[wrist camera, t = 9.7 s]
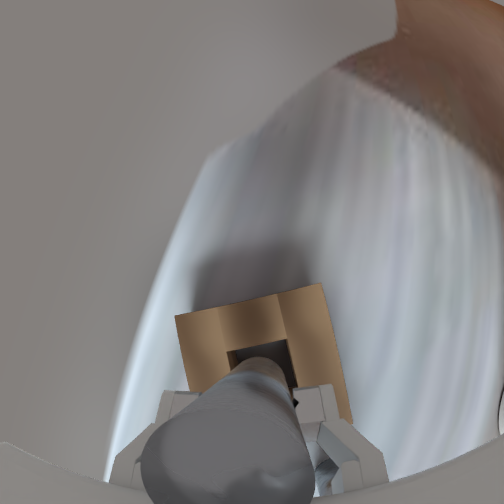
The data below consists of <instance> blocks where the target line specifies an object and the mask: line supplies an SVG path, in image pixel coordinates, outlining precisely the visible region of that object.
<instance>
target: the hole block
mask: <svg viewBox="0 0 504 504" xmlns="http://www.w3.org/2000/svg"><path fill="white" fill-rule="evenodd" d="M175 322H176V328H177V333H178V338H179V343H180V348H181V353H182V358H183V363H184V367H185V372H186V377H187V381H188V385H189V390H190V391H192V392H202V394H203V393H204V392H206V391H207V390H208V389H209V388H211V387H212V386H213V385H214V384H216V383H217V382H218V381H219V380H221V379H222V378H223V377H224V376H226V375H227V374H228V373H229V372H230V371H232V370H233V369H234V368H235V367H236V366H238V361H237V356H236V352H235V350H237V349H242V348H247V347H252V346H257V345H261V344H266V343H270V342H274V341H279V340H283V339H285V340H286V344H287V349H288V353H289V357H290V362H291V366H292V370H293V375H294V379H295V383H296V386H294V387H290V388H288V389H289V392H290V395H291V399H293V388H299V387H308V386H315V385H325V384H332V386H333V389H334V394H335V398H336V403H337V408H338V412H339V417H340V419H343V418H344V419H345V420H346V421H347V422H348V423H349V424H350V425H351V424H353V421H352V416H351V410H350V405H349V400H348V395H347V390H346V385H345V381H344V376H343V371H342V367H341V362H340V358H339V353H338V349H337V345H336V340H335V336H334V332H333V328H332V324H331V320H330V316H329V312H328V308H327V304H326V300H325V296H324V292H323V288H322V285H321V283H318V284H314V285H310V286H306V287H302V288H298V289H294V290H290V291H285V292H281V293H277V294H273V295H269V296H264V297H260V298H256V299H251V300H247V301H242V302H238V303H233V304H229V305H224V306H220V307H215V308H210V309H205V310H200V311H196V312H191V313H186V314H180V315H175Z"/></svg>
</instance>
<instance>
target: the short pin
mask: <svg viewBox="0 0 504 504" xmlns="http://www.w3.org/2000/svg"><path fill="white" fill-rule="evenodd" d="M338 469H339V467H338V466H337V465H336V464H335V462H334V461H333V460H332V459H329V460H326V461H324V462H322V463H321V464H320V465H319V466H318V467H317V468H316V470H315V480H316V484H317V487H318V491H319V494H320V496H327V495H333V494H332V485H331V481H332V480H333V478H334V476H335V475H336V473H337V471H338Z"/></svg>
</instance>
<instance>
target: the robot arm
mask: <svg viewBox="0 0 504 504" xmlns="http://www.w3.org/2000/svg"><path fill="white" fill-rule="evenodd" d="M201 395H202V392H192V391H173V390H164V392H163V393H162V396H161V400H160V404H159V408H158V412H157V417H156V421H155V424H154V423H151V424H150V425H149V426H148V427H147V428H146V429H145V430H144V431H143V432H142V433H141V434H140V435H138V436H137V437H136V438H135V439H134V440H133V441H132V442H131V443H130V444H129V445H128V446H126V447H125V448H124V449H123V450H122V451H121V452H120V453H119V454H118V455H116V457H115V460H114V464H113V468H112V472H111V476H110V480H109V483H107V482H103V481H100V480H97V479H94V478H90V477H87V476H84V475H81V474H78V473H75V472H73V471H70V470H67V469H65V468H62V467H60V466H57V465H55V464H52V463H50V462H47V461H45V460H43V459H41V458H38V457H36V456H34V455H32V454H30V453H27V452H25V451H24V450H22V449H20V448H18V447H16V446H14V445H12V444H10V443H7V442H2V443H0V504H154V503H153V502H152V500H151V499H150V497H149V496H148V494H147V492H146V489H145V487H144V484H143V481H142V477H141V471H140V461H141V455H142V452H143V449H144V446H145V444H146V442H147V441H148V439H149V437H150V436H151V435H152V434H153V432H154V431H155V430H156V429H157V428H159V427H160V426H161V425H162V424H163V423H165V422H166V421H168V420H169V419H170V418H172V417H173V416H174V415H176V414H177V413H178V412H180V411H181V410H182V409H184V408H185V407H186V406H188V405H189V404H190V403H192V402H193V401H194V400H195V399H197V398H198V397H199V396H201ZM292 402H293V405H294V408H295V411H296V415H297V418H298V421H299V424H300V427H301V430H302V434H303V437H304V440H305V442H314V441H317V443H318V444H319V445H320V447H321V448H322V449H323V450H324V451H325V452H326V453H327V455H328V456H329V457H330V458H331V459H332V460H333V461H334V462H335V464H336V465H337V466H338V467H339V469H338V471H337V473H336V475H335V476H334V478H333V480H332V481H331V485H332V494H333V495H327V496H320V497H313V498H312V501H311V503H310V504H504V392H503V396H502V400H501V405H500V411H499V431H500V435H499V436H498V437H496V438H494V439H492V440H490V441H489V442H487V443H485V444H483V445H481V446H479V447H477V448H475V449H473V450H471V451H469V452H467V453H465V454H463V455H461V456H459V457H456V458H454V459H452V460H450V461H447V462H445V463H443V464H440V465H438V466H435V467H432V468H430V469H427V470H425V471H422V472H419V473H416V474H413V475H410V476H407V477H404V478H401V479H398V480H394V481H391V482H389V479H388V474H387V470H386V466H385V462H384V457H383V453H382V452H381V451H380V450H378V449H377V448H376V447H375V446H374V445H373V444H371V443H370V442H369V441H368V440H367V439H366V438H365V437H364V436H362V435H361V434H360V433H359V432H358V431H357V430H356V429H355V428H353V427H352V426H351V425H350V424H349V423H348V422H347V421H346V420H345V419H344V418H343V419H340V417H339V412H338V408H337V403H336V398H335V394H334V389H333V386H332V384H325V385H315V386H308V387H299V388H293V399H292Z"/></svg>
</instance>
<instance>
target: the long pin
mask: <svg viewBox="0 0 504 504" xmlns="http://www.w3.org/2000/svg"><path fill="white" fill-rule="evenodd" d="M140 471H141V477H142V481H143V484H144V487H145V489H146V492H147V494H148V496H149V497H150V499H151V500H152V502H153V503H154V504H310V503H311V501H312V498H313V495H314V491H315V472H314V469H313V465H312V462H311V459H310V456H309V453H308V449H307V446H306V443H305V440H304V437H303V434H302V430H301V427H300V424H299V421H298V418H297V415H296V411H295V408H294V405H293V402H292V399H291V395H290V392H289V389H288V386H287V383H286V379H285V376H284V373H283V371H282V369H281V368H280V367H279V365H278V364H276V363H275V362H274V361H272V360H270V359H268V358H264V357H252V358H249V359H246V360H244V361H243V362H241V363H240V364H239V365H238V366H236V367H235V368H234V369H233V370H232V371H230V372H229V373H228V374H227V375H226V376H224V377H223V378H222V379H221V380H219V381H218V382H217V383H216V384H214V385H213V386H212V387H211V388H209V389H208V390H207V391H206V392H204V393H203V394H202V395H201V396H199V397H198V398H197V399H195V400H194V401H193V402H192V403H190V404H189V405H188V406H186V407H185V408H184V409H182V410H181V411H180V412H178V413H177V414H176V415H174V416H173V417H172V418H170V419H169V420H168V421H166V422H165V423H163V424H162V425H161V426H160V427H159V428H157V429H156V430H155V431H154V432H153V434H152V435H151V436H150V437H149V439H148V441H147V442H146V444H145V446H144V449H143V452H142V455H141V461H140Z"/></svg>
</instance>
